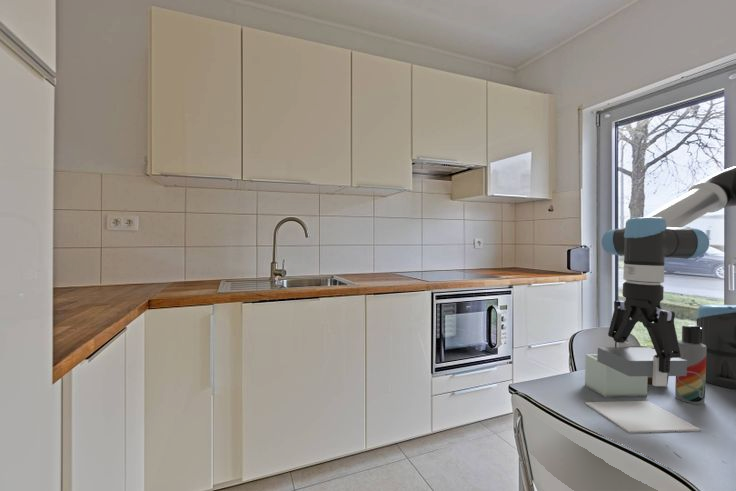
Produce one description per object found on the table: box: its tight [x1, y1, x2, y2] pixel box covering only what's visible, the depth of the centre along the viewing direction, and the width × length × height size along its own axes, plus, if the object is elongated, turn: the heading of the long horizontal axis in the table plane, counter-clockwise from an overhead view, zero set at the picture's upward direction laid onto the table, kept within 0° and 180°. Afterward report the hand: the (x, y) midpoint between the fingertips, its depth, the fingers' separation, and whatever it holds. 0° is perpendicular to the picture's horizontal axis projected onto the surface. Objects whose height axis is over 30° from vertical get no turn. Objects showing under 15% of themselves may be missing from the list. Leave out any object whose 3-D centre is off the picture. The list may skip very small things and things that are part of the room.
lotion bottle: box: [674, 324, 706, 405], centre depth 89 cm, size 6×6×20 cm
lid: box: [597, 346, 687, 377], centre depth 80 cm, size 14×9×4 cm
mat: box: [585, 400, 701, 434], centre depth 80 cm, size 17×13×1 cm
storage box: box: [584, 353, 648, 398], centre depth 94 cm, size 12×8×9 cm, turn 94°
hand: (639, 376), depth 80 cm, fingers closed on lid, 9 cm apart
